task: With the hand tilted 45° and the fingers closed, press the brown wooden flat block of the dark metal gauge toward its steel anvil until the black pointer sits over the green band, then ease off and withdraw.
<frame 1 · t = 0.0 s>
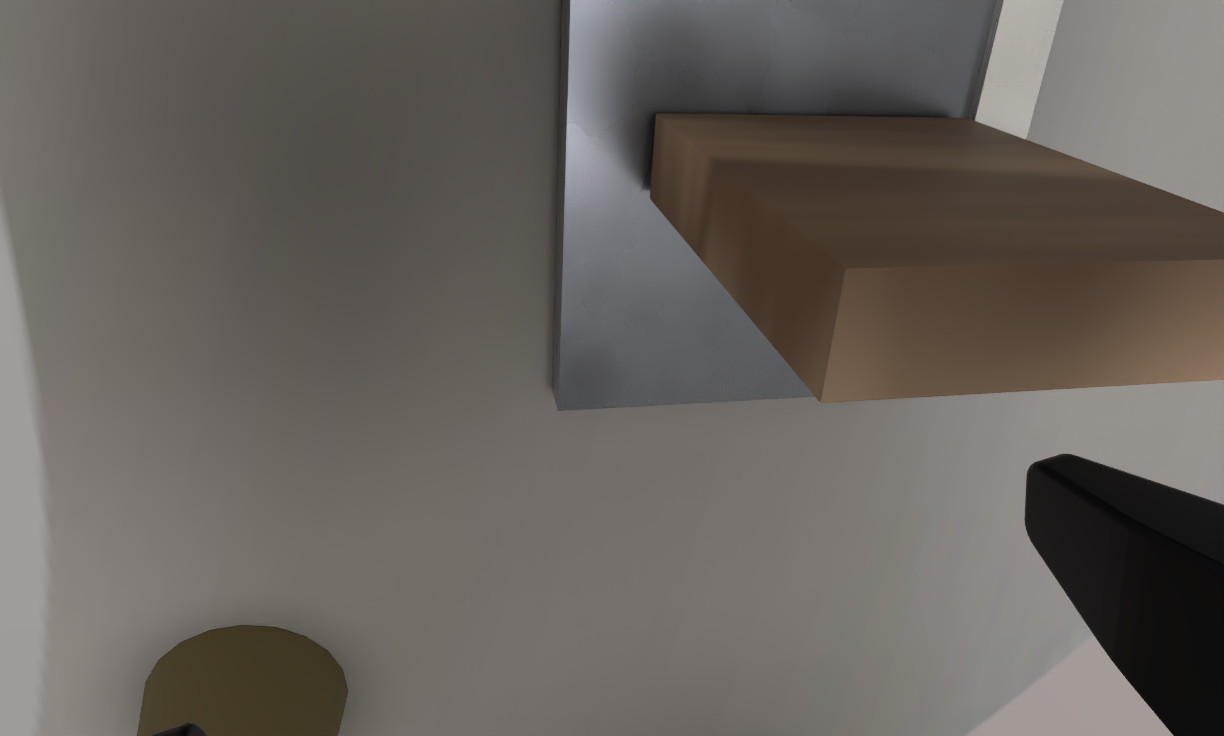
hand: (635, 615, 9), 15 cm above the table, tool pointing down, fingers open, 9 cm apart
brown wooden flat block: (960, 220, 17), point 7 cm above the table, slide at 0.0 cm
cork: (249, 692, 28), on the table
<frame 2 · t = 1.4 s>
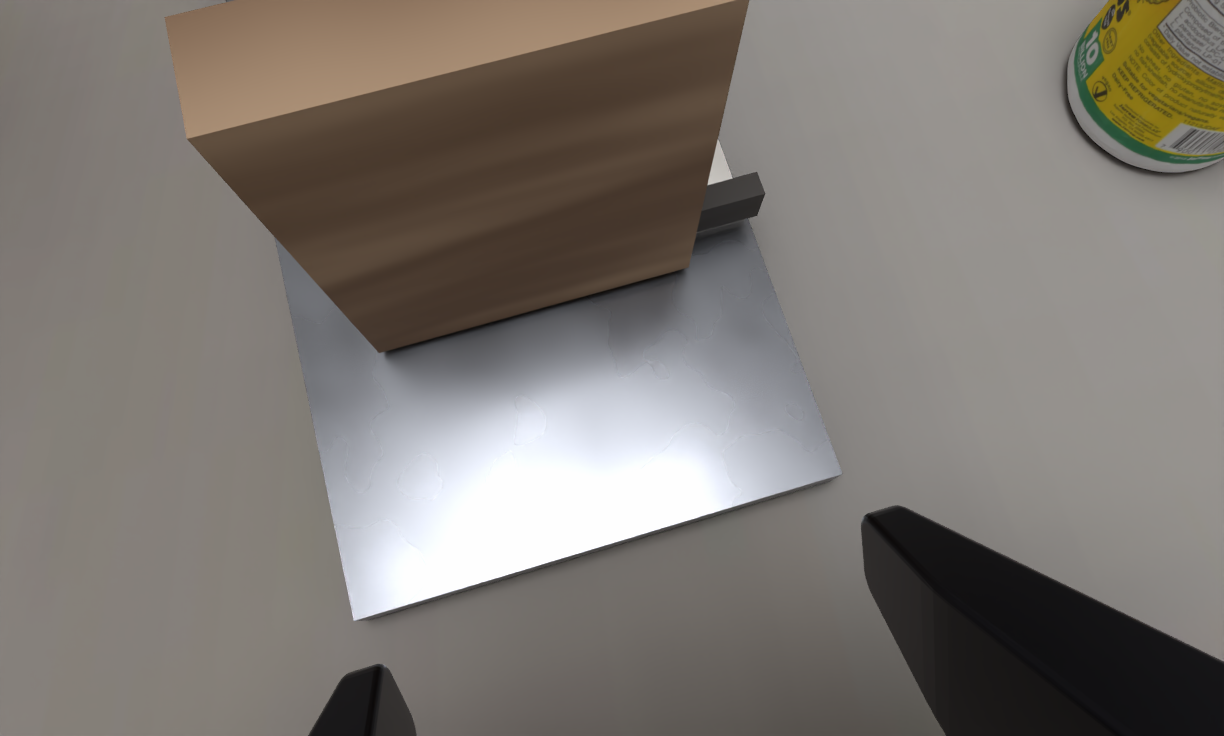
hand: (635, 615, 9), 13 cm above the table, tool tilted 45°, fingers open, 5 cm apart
brown wooden flat block: (550, 165, 17), point 7 cm above the table, slide at 0.0 cm
supplement bottle: (1147, 99, 25), on the table
gauge housing: (496, 176, 24), on the table
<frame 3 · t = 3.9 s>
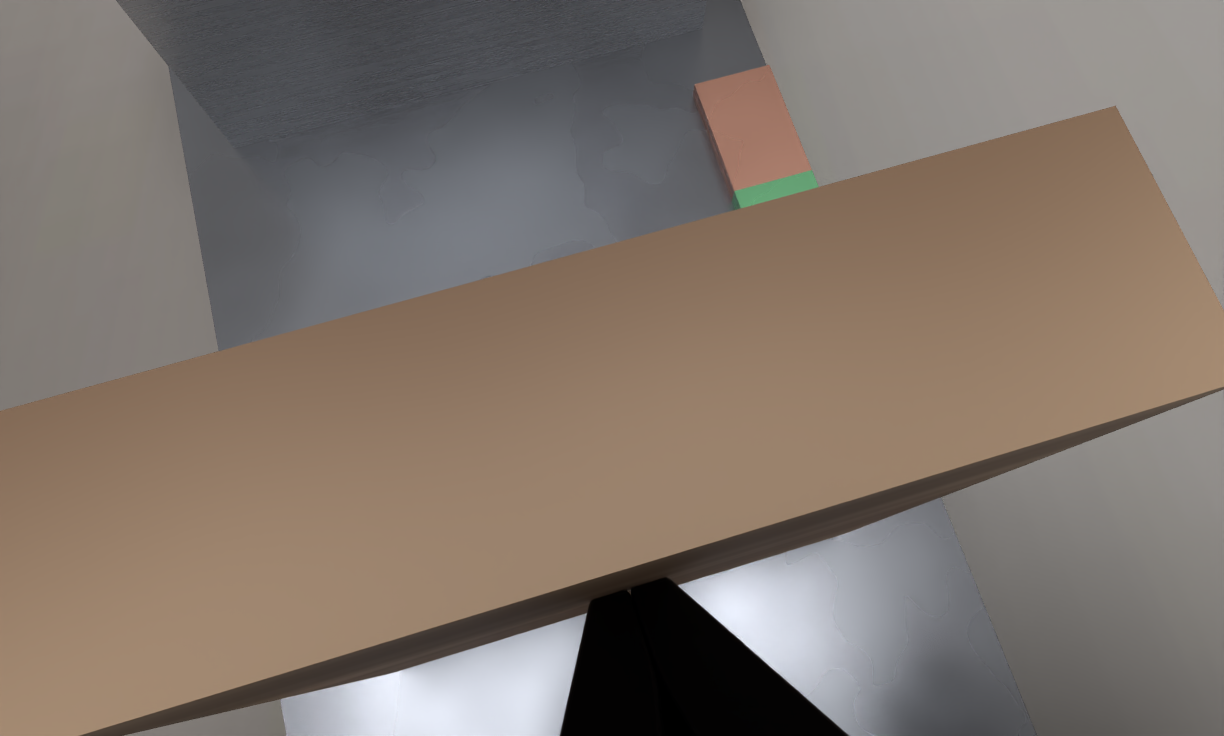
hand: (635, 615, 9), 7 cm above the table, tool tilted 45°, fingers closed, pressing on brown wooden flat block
brown wooden flat block: (684, 483, 10), point 7 cm above the table, slide at 0.7 cm, touching gripper
gauge housing: (564, 403, 17), on the table
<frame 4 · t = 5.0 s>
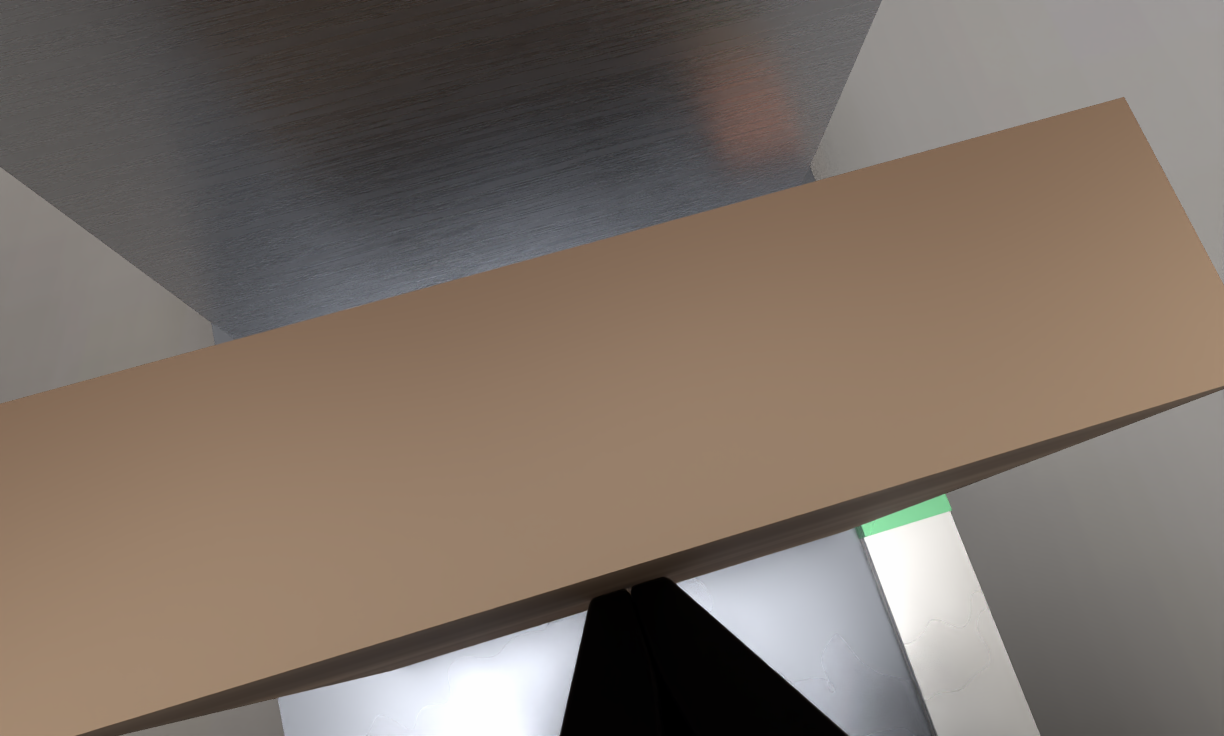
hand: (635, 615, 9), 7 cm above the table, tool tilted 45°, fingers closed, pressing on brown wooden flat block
brown wooden flat block: (684, 480, 10), point 7 cm above the table, slide at 5.7 cm, touching gripper
gauge housing: (636, 652, 16), on the table
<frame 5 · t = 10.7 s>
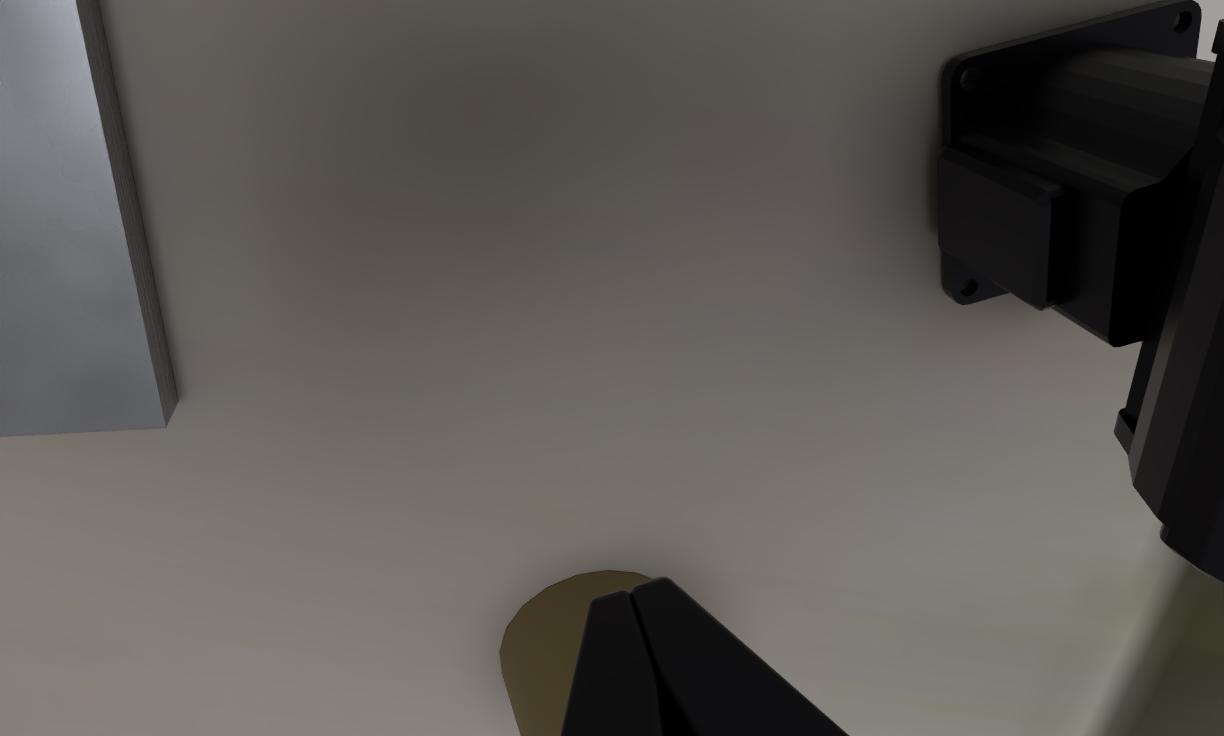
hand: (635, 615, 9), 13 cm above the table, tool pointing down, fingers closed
cork: (594, 641, 27), on the table
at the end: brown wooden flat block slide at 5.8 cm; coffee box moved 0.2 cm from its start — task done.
